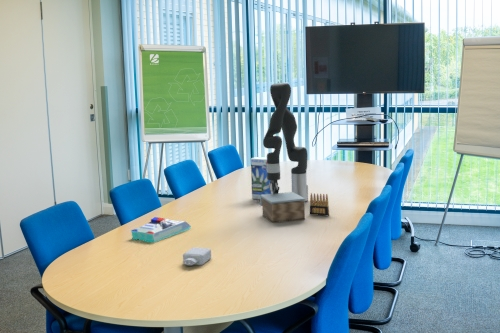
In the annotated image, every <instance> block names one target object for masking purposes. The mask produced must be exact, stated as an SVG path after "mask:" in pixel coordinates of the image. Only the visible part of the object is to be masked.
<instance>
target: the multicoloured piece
mask: <svg viewBox="0 0 500 333" xmlns="http://www.w3.org/2000/svg"><path fill="white" fill-rule="evenodd" d="M191 228H192V227H191V225H190V223H188V222H187V221H186V220H184V221H183V220H173V219H170V218H169V219H168V218H164V217H156V216H155V217H153V218H151V219H150V222H147V223H145V224H143V225H141V226H139V227H136V228H134V229H131V230H130V233H131V236H132V237H131V238H133V239H132V240H135V239H139V240H138V241H141V240H143V241H142V242H147V243H152V242H153V243H154V244H155V243H157V242H159V241H163V240H164V239H167V238H169V237H172V236H176V235H177V234H181V233H183V232H185V231H189V230H191Z"/></svg>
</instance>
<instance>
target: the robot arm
mask: <svg viewBox="0 0 500 333" xmlns="http://www.w3.org/2000/svg"><path fill="white" fill-rule="evenodd" d="M269 92H270V96H271V100H272V102H273V104H274V108H275V110H274V111H273V112H272V114H271V115H270V116H271V117H270V118H269V119H270V120H269V125H268V129H267V130H266V132H265V135H264V137H263V140H262V145H263V147H264V148H265V149H274V150H273V151H272V152H269V153H267V154H266V158H267V180H270V184H268V185H269V189H270V193H271V194H275V193H280V192H279V191H280V186H279V183H278V181H280V180H281V166H280V156H281V155H280V154H281V149H282V145H283V140H282V138H281V137H280V136H279V135H276V134H280V133H281V132H282V134H283V138H284V142H285V147H286V153H287V157H288V159H289V161H290V162H294V163H295V162H296V163H297V165H296V166H293V167H292V168H291V169H290V172H291V174H290V176H291V177H290V178H291V192H294V193H296V194H297V195H299V196H301V197H303V198H305V200H304V202H307V201H309V186H308V183H307V169H308V150H307V148H306V147H303V146H296V144H295V135H296V133H297V131H298V124H297V120H296V117H295V115H294V114H293V113H292V111H290V110H289V109H288V108H287V107H288V104H289V101H290V99H291V95H292V88H291V86H290V83H288V82H279V83H272V84H271V85H270V89H269Z"/></svg>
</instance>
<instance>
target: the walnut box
mask: <svg viewBox="0 0 500 333" xmlns="http://www.w3.org/2000/svg"><path fill="white" fill-rule="evenodd" d="M305 206H306V205H305V201H294V202H284V203H274V204H271V203H269V202H268V201H266V200H265V199H263V198H262V206H261V207H262V208H261V209H262V210H261V211H262V216H263V217H265V218H266V219H267V220H268V221H269V222H271V223H273V224H275V223H283V222H292V221H301V220H306V211H305V209H306V208H305Z"/></svg>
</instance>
